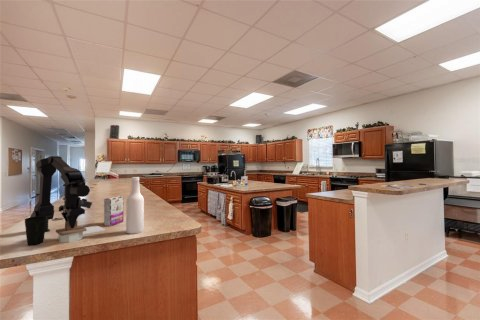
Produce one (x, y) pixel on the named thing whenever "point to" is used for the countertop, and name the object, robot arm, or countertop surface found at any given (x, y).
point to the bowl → (70, 237)
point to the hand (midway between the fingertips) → (71, 227)
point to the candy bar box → (113, 210)
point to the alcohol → (135, 209)
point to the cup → (35, 230)
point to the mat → (93, 230)
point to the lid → (70, 229)
